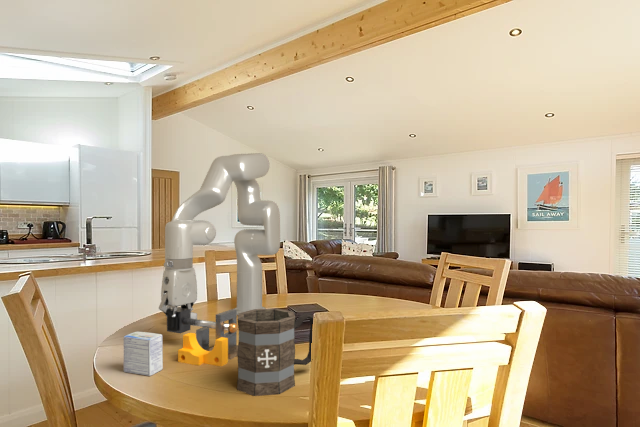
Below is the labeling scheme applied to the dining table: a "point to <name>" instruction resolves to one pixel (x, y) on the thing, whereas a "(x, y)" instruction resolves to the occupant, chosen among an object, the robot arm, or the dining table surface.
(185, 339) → the pipe clamp
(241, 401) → the dining table surface
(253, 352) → the mug
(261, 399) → the dining table surface
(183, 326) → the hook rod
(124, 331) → the dining table surface
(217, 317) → the grey square ring
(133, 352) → the medicine box
